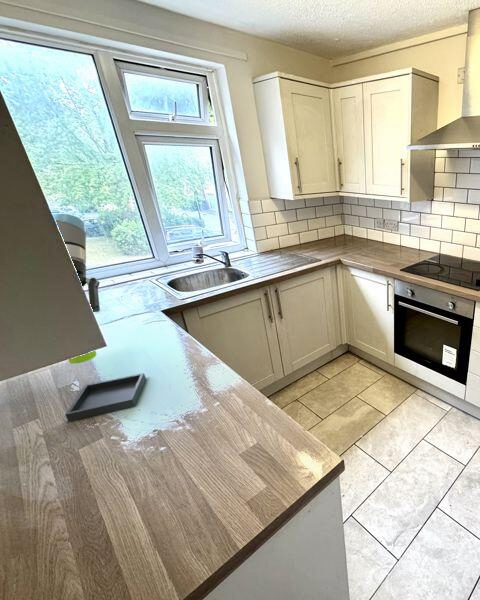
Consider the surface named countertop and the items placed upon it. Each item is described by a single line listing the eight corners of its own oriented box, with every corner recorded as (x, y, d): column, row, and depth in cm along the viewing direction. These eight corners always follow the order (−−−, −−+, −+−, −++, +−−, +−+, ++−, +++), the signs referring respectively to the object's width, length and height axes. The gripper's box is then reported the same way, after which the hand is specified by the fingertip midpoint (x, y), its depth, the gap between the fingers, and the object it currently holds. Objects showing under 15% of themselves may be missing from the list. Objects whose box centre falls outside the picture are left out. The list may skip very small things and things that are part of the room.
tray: (68, 421, 88) (64, 414, 87) (88, 391, 99) (85, 384, 98) (134, 406, 93) (132, 399, 92) (146, 379, 104) (143, 372, 103)
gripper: (13, 261, 87) (7, 343, 80) (102, 253, 95) (104, 327, 88) (32, 274, 94) (28, 350, 87) (114, 265, 101) (117, 336, 94)
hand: (66, 339), depth 87 cm, fingers closed on soap dispenser, 6 cm apart
